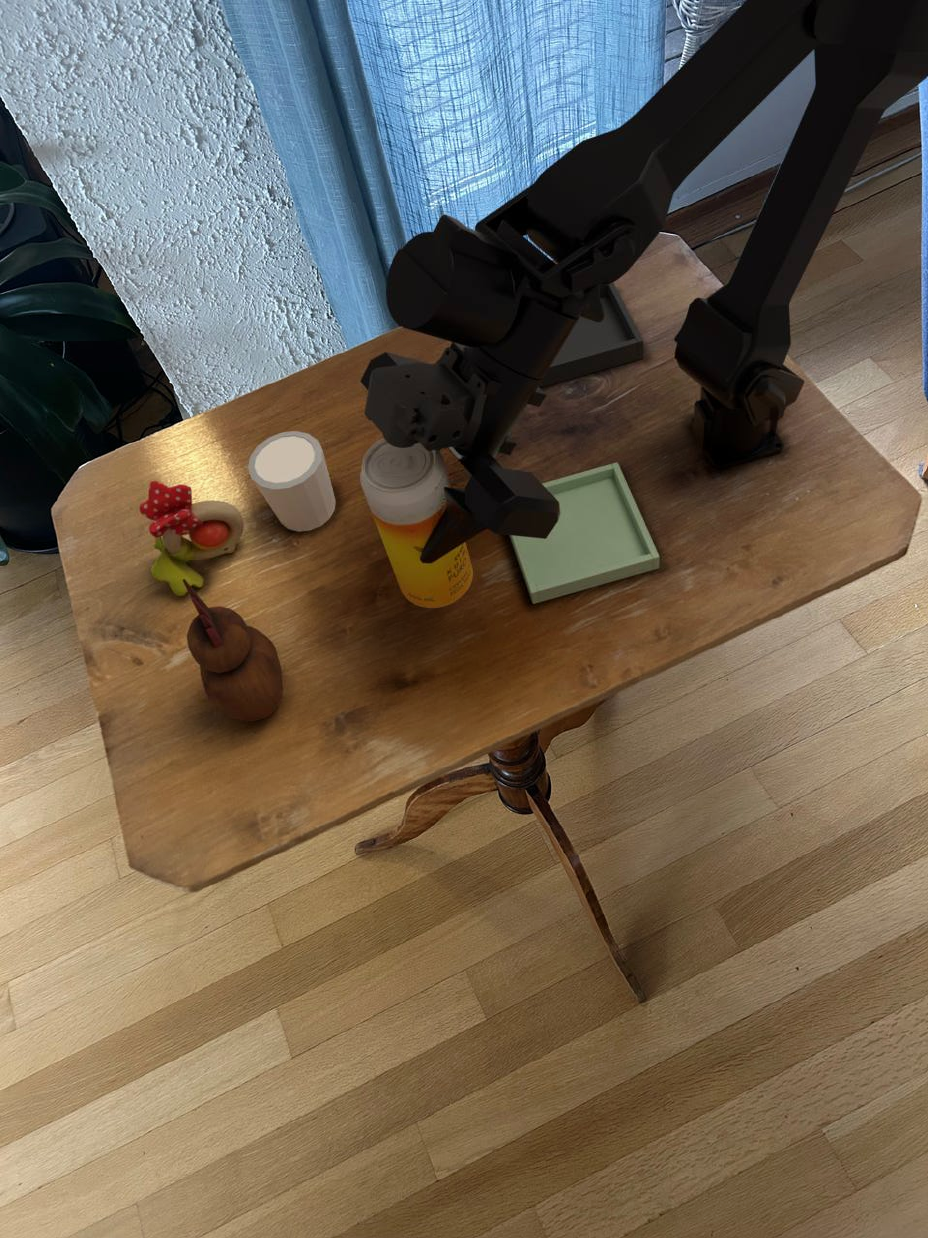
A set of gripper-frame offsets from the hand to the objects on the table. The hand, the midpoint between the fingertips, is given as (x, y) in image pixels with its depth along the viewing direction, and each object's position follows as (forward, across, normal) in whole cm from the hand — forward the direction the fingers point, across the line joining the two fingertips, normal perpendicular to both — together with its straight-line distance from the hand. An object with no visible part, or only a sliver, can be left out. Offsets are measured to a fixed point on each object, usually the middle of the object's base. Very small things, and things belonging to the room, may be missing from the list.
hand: (404, 534), depth 75 cm
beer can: (+4, 0, +6) cm, 8 cm away
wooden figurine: (+20, -2, -3) cm, 20 cm away
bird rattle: (+18, -19, -1) cm, 26 cm away
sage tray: (-2, 0, +19) cm, 19 cm away
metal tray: (-12, -20, +29) cm, 37 cm away
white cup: (+11, -18, +6) cm, 22 cm away
